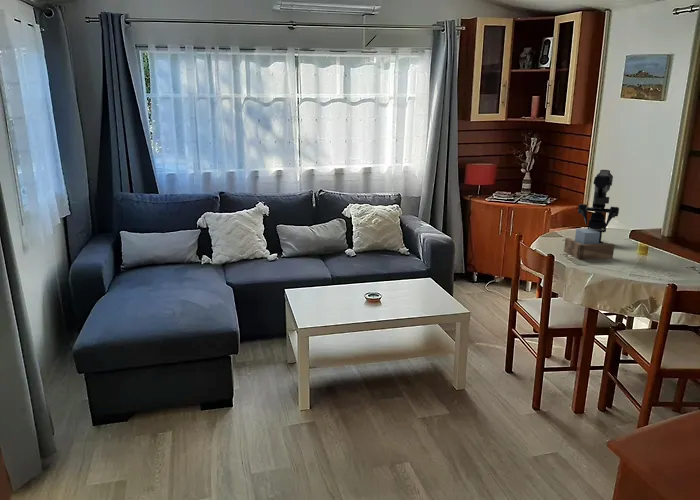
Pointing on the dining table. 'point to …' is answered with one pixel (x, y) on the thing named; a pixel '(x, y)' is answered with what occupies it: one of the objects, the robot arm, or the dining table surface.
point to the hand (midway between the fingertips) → (596, 225)
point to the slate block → (587, 236)
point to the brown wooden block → (588, 250)
